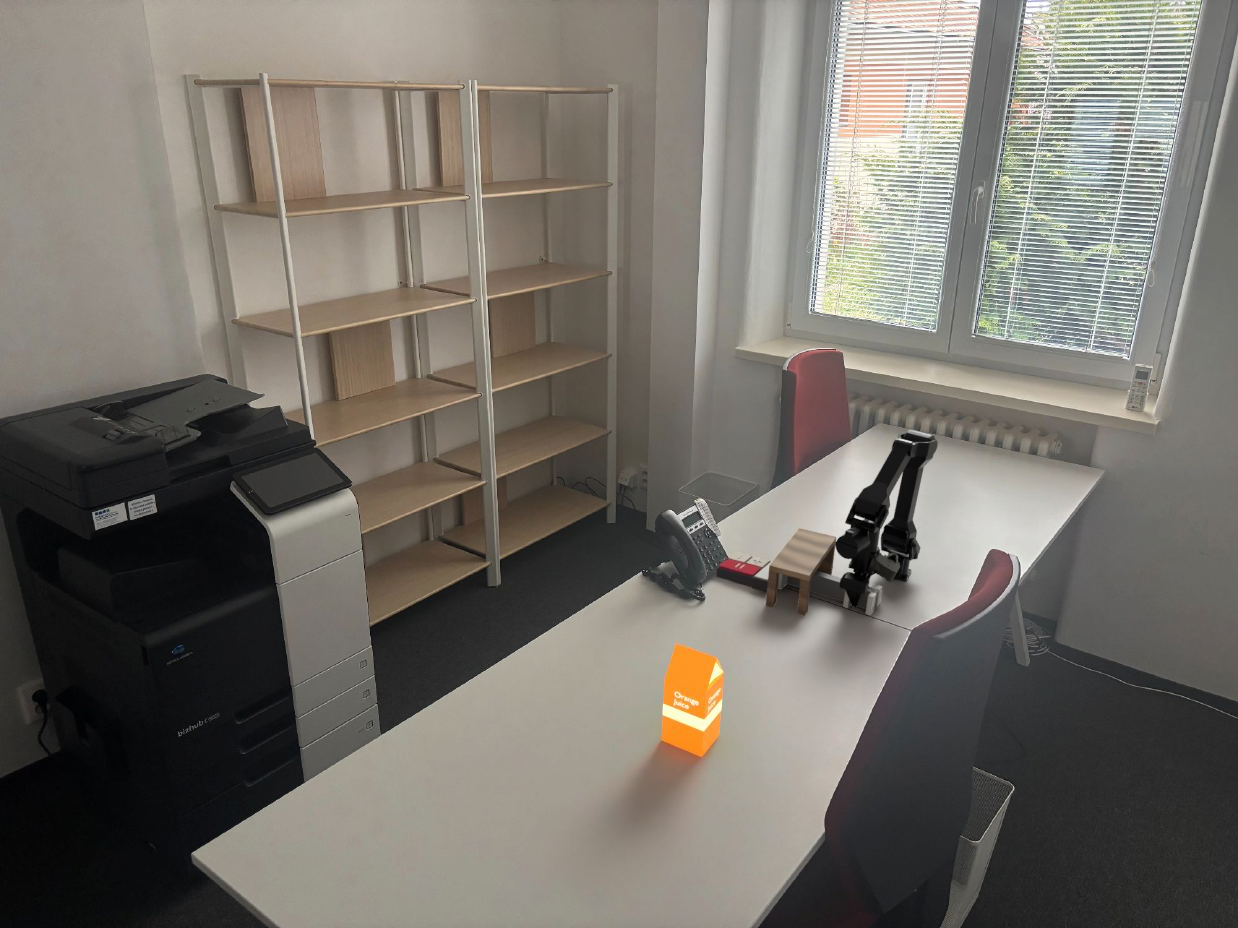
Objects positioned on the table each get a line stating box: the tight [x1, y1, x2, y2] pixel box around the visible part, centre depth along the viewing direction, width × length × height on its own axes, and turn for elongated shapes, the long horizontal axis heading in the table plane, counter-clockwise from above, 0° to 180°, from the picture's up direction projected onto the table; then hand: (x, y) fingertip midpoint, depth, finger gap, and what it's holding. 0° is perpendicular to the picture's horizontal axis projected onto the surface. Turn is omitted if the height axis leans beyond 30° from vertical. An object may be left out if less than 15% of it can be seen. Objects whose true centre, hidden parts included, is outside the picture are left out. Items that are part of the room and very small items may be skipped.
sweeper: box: [777, 571, 883, 616], centre depth 220 cm, size 10×24×5 cm, turn 56°
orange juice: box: [661, 642, 725, 758], centre depth 165 cm, size 8×9×20 cm
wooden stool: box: [765, 527, 837, 616], centre depth 221 cm, size 24×10×11 cm, turn 152°
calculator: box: [716, 551, 773, 594], centre depth 228 cm, size 11×4×15 cm
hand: (857, 600), depth 217 cm, fingers closed on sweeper, 7 cm apart
